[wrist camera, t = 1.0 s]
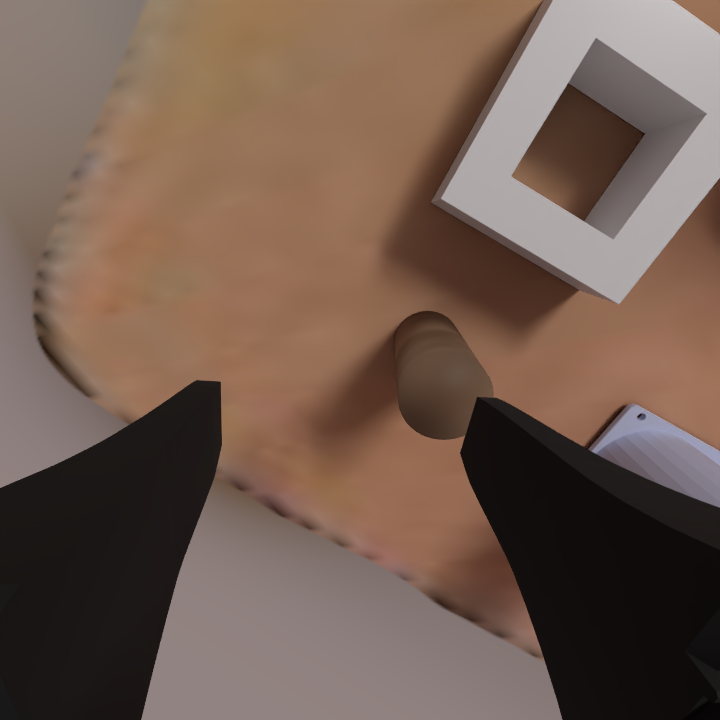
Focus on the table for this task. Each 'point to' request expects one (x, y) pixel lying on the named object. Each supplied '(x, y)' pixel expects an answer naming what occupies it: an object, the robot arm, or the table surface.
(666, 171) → the hole block
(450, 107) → the table surface
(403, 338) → the brown rounded cylinder
